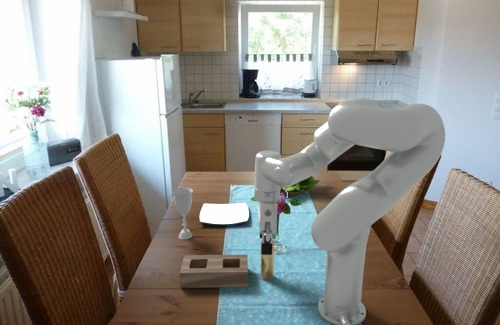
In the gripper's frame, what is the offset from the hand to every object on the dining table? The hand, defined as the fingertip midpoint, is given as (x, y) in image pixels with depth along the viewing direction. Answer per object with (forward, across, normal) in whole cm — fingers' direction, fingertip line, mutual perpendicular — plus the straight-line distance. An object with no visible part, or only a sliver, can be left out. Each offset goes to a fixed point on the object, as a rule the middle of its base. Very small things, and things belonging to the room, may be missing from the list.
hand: (265, 245), depth 120 cm
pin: (+10, -1, -1) cm, 11 cm away
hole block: (+11, -1, +15) cm, 19 cm away
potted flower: (+12, +74, -18) cm, 78 cm away
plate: (+12, +44, +14) cm, 48 cm away
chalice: (+12, +27, +28) cm, 41 cm away
